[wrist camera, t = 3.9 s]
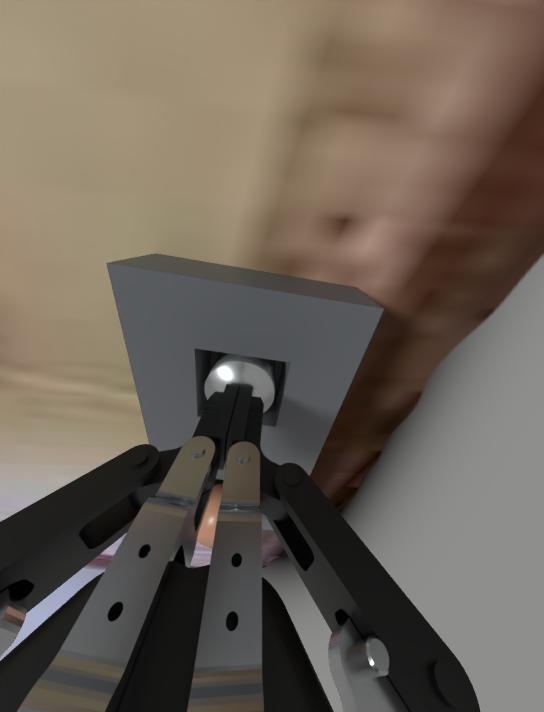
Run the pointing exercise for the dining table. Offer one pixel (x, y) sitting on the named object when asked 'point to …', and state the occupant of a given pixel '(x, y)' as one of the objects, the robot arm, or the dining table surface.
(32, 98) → the dining table surface
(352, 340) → the button panel
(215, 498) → the terracotta button
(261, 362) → the steel button
